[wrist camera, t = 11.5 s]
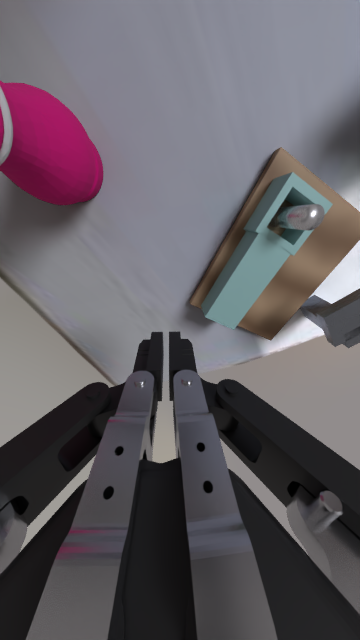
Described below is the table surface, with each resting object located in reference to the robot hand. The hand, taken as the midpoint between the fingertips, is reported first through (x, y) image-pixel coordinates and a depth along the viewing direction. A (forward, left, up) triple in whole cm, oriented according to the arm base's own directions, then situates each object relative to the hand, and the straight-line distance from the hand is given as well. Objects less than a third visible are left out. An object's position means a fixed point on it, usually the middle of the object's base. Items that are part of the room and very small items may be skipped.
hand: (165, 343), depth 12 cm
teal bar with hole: (-7, +8, -14) cm, 17 cm away
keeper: (-7, +20, -15) cm, 26 cm away
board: (-8, +12, -15) cm, 21 cm away
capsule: (-12, +8, -15) cm, 21 cm away
